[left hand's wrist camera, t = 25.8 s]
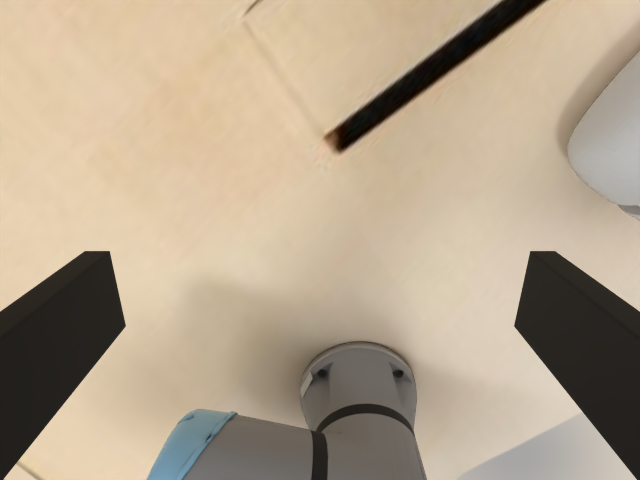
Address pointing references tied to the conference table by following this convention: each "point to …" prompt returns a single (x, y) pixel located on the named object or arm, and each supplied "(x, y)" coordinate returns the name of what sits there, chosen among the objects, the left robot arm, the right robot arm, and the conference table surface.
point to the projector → (612, 141)
